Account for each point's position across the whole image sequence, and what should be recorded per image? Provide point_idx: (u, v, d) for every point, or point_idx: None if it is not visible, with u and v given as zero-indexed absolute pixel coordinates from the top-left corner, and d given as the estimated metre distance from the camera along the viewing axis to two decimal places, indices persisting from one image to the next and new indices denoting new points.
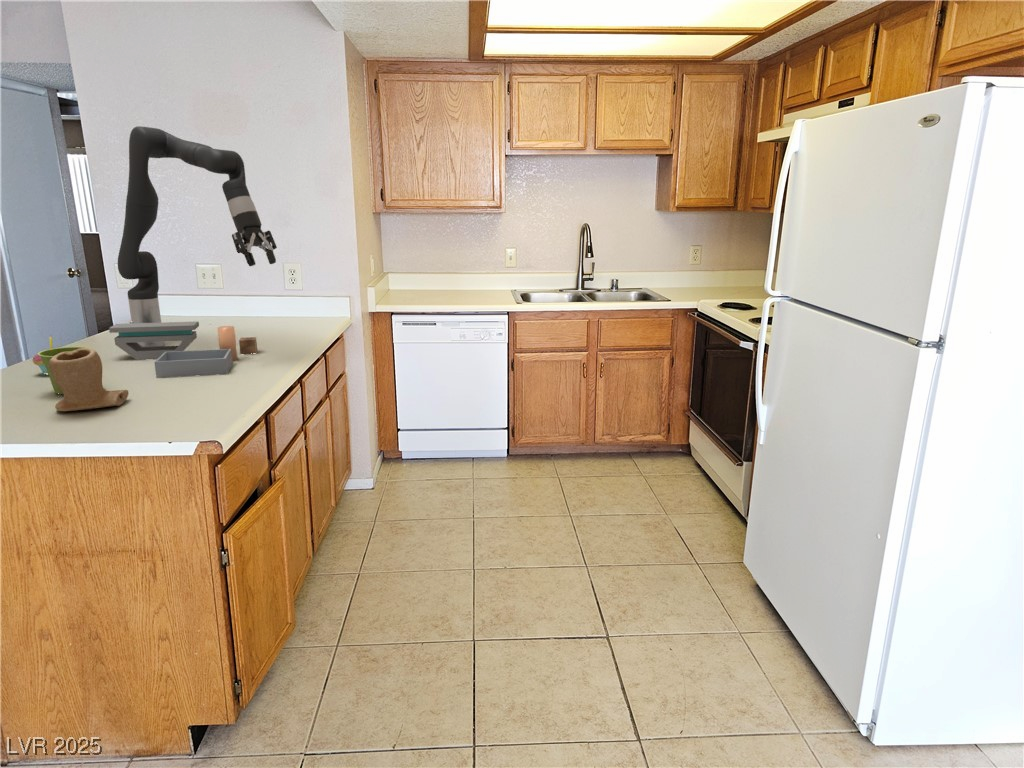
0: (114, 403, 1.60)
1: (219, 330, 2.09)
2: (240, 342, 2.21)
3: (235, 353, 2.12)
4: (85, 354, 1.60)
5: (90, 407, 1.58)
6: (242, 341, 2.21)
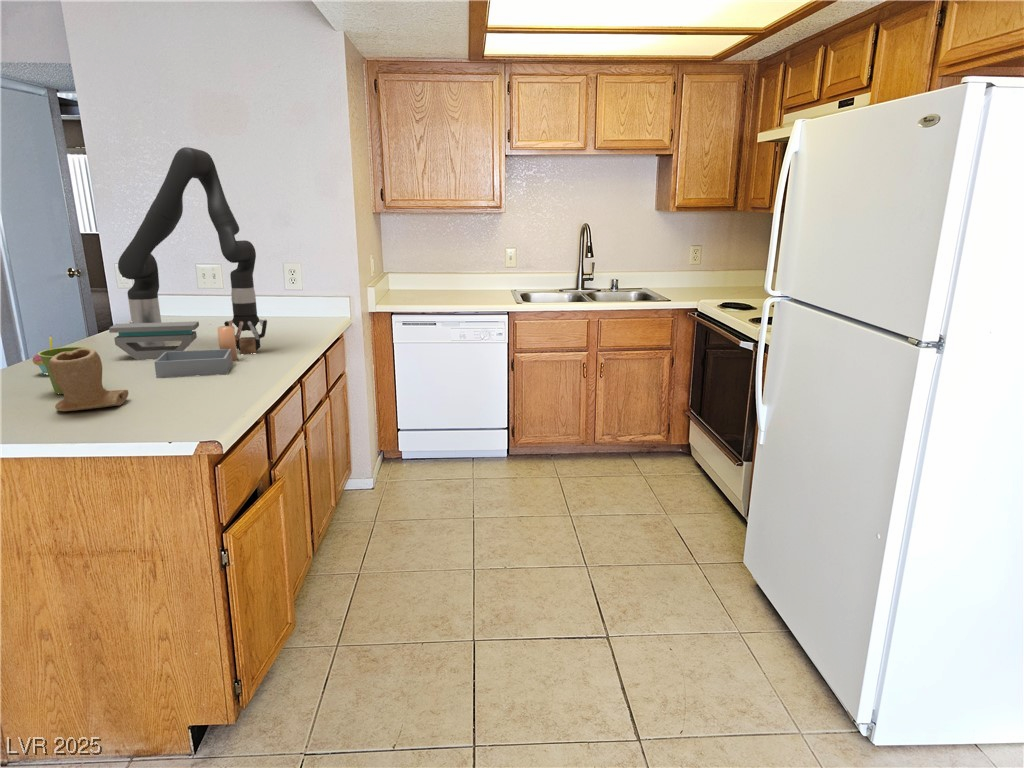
0: (114, 403, 1.60)
1: (219, 330, 2.09)
2: (240, 342, 2.21)
3: (235, 353, 2.12)
4: (85, 354, 1.60)
5: (90, 407, 1.58)
6: (242, 341, 2.21)
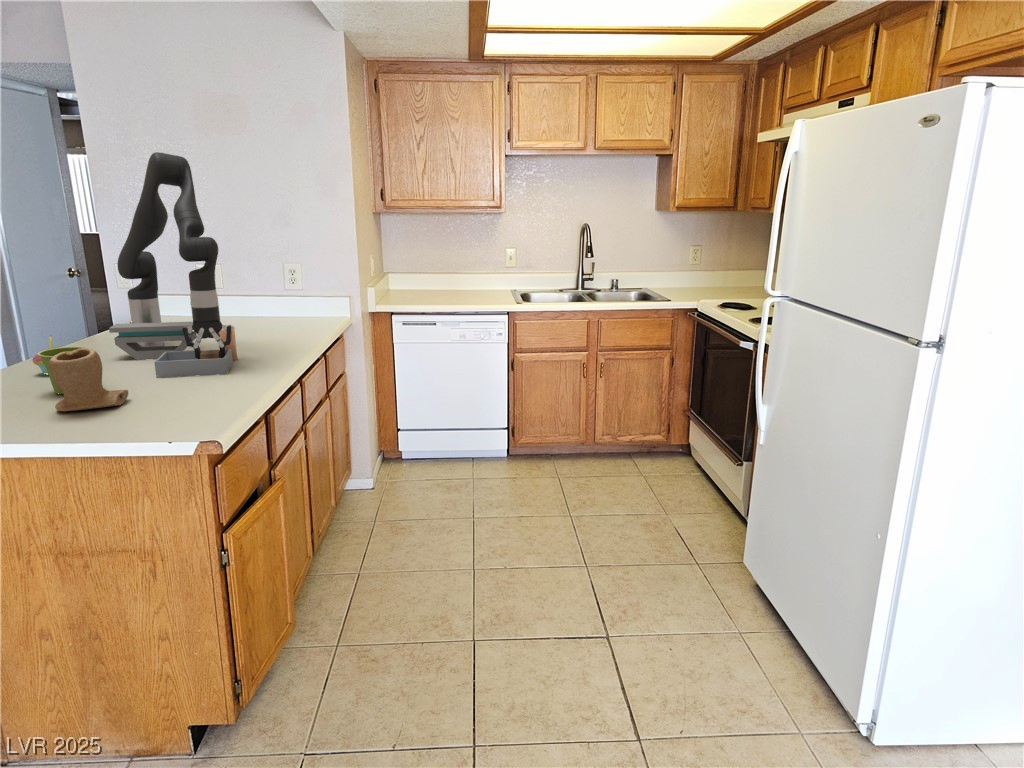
0: (114, 403, 1.60)
1: None
2: (201, 356, 1.97)
3: (235, 353, 2.12)
4: (85, 354, 1.60)
5: (90, 407, 1.58)
6: (204, 355, 1.97)
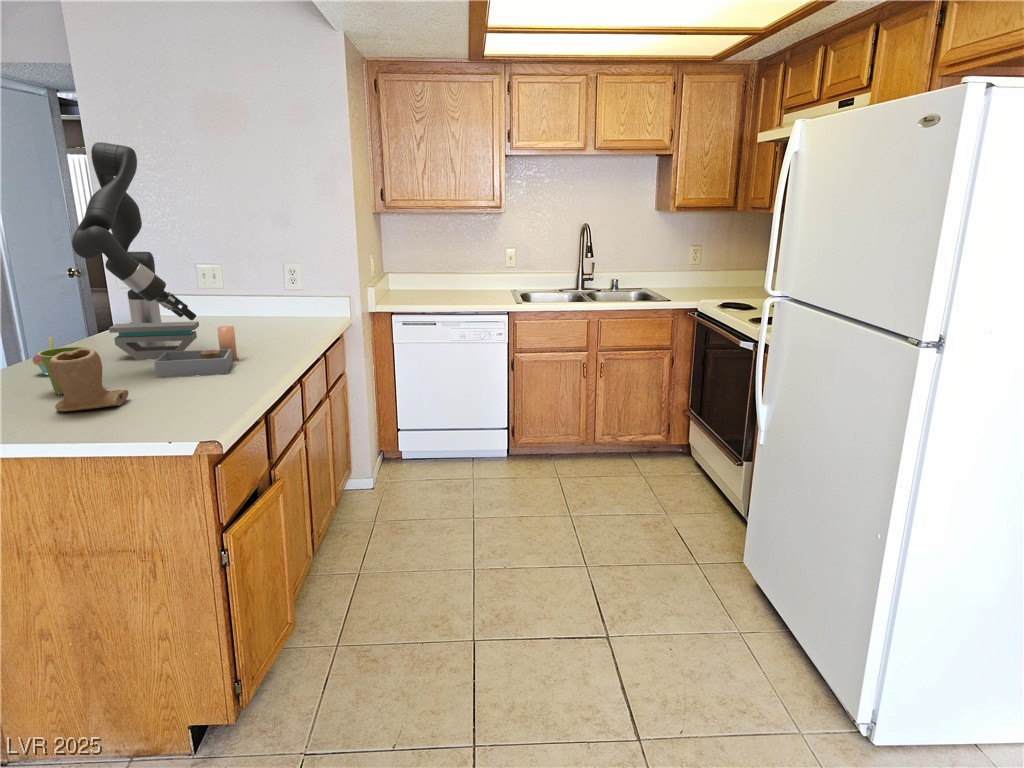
0: (114, 403, 1.60)
1: (219, 330, 2.09)
2: (201, 356, 1.97)
3: (235, 353, 2.12)
4: (85, 354, 1.60)
5: (90, 407, 1.58)
6: (204, 355, 1.97)
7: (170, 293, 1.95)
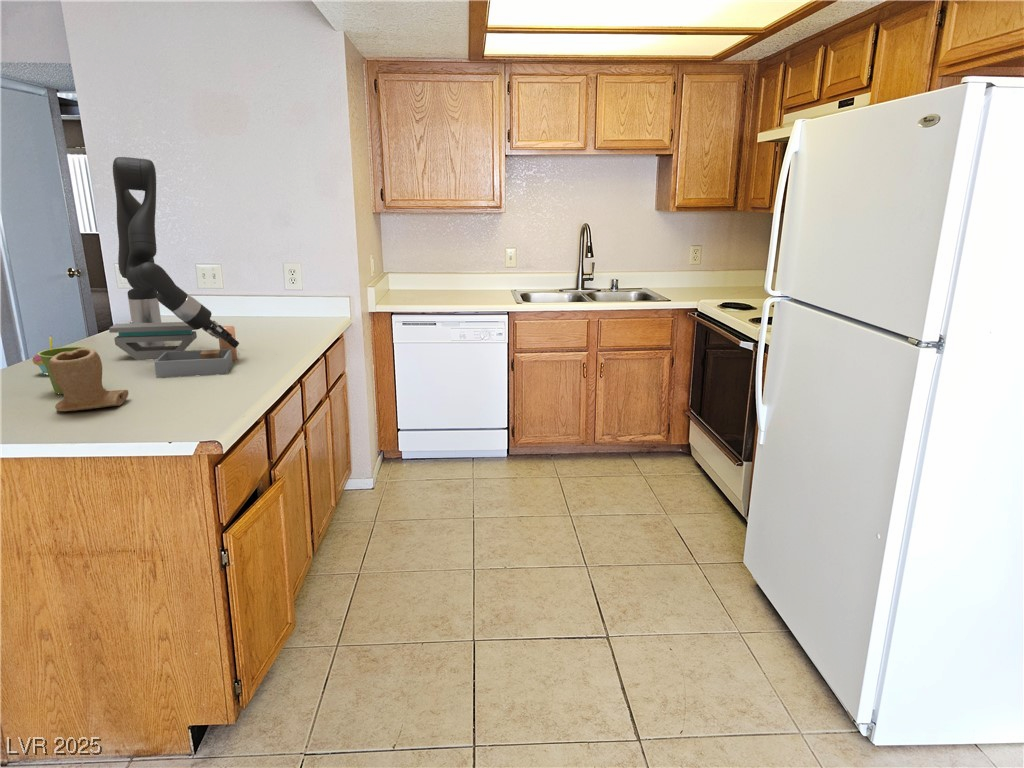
0: (114, 403, 1.60)
1: None
2: (201, 356, 1.97)
3: (235, 353, 2.12)
4: (85, 354, 1.60)
5: (90, 407, 1.58)
6: (204, 355, 1.97)
7: (216, 322, 2.06)
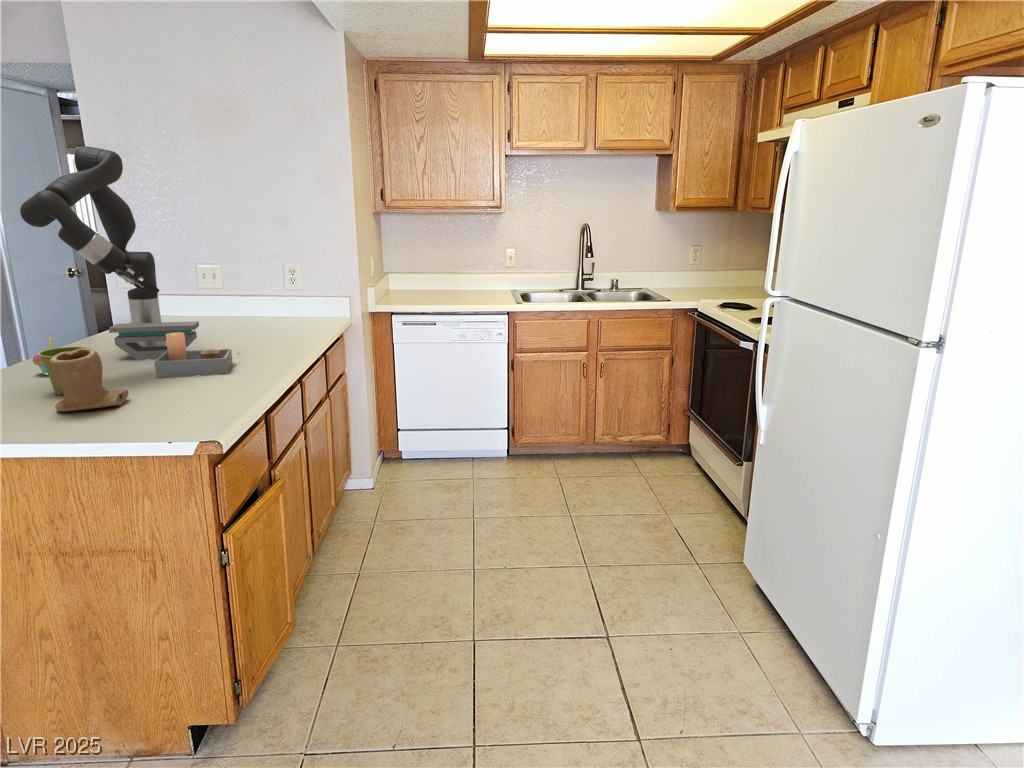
0: (114, 403, 1.60)
1: (167, 337, 1.94)
2: (201, 356, 1.97)
3: None
4: (85, 354, 1.60)
5: (90, 407, 1.58)
6: (204, 355, 1.97)
7: (130, 266, 1.82)
